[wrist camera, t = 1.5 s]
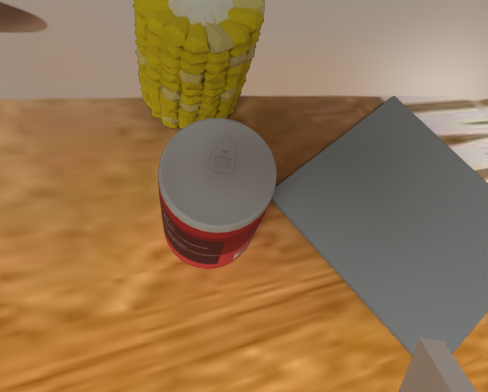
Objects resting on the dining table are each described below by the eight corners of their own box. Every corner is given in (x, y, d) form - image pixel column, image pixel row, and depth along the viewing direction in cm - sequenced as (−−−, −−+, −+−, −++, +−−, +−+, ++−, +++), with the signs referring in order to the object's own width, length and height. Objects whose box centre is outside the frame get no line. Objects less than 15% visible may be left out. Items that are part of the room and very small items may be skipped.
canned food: (248, 183, 40) (272, 117, 30) (255, 270, 37) (284, 228, 27) (163, 184, 39) (157, 115, 29) (163, 273, 35) (156, 231, 25)
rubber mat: (266, 195, 39) (268, 192, 39) (391, 99, 46) (394, 95, 45) (430, 375, 35) (433, 375, 35) (542, 241, 41) (547, 240, 41)
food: (213, 59, 47) (244, 140, 44) (100, 64, 41) (127, 156, 38) (271, -71, 34) (321, 33, 31) (119, -89, 28) (162, 34, 26)
